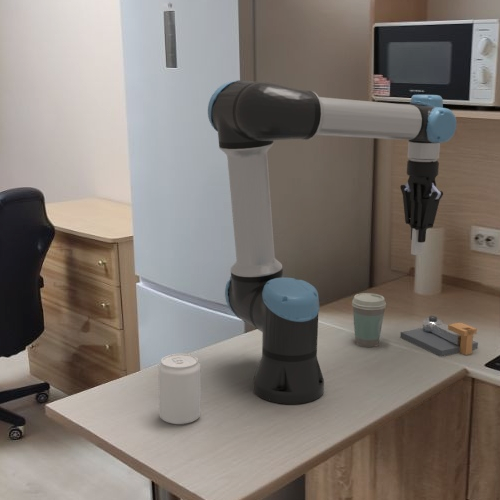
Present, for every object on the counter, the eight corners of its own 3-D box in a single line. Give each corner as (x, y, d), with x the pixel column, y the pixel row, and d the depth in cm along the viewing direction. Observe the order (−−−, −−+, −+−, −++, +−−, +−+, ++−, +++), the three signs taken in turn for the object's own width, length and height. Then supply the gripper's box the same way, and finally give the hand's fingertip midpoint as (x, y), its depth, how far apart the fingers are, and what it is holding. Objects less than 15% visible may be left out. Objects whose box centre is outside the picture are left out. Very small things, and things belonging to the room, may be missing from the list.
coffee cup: (383, 350, 189) (386, 303, 186) (348, 347, 190) (350, 301, 187) (384, 338, 197) (387, 293, 194) (351, 335, 198) (353, 291, 196)
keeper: (462, 355, 186) (464, 331, 184) (446, 348, 190) (448, 324, 189) (474, 353, 187) (476, 328, 186) (458, 345, 192) (460, 322, 191)
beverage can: (166, 429, 146) (165, 370, 143) (154, 412, 153) (153, 355, 151) (206, 422, 149) (206, 364, 147) (192, 405, 157) (192, 350, 154)
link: (418, 327, 199) (419, 315, 199) (433, 325, 201) (434, 313, 201) (454, 345, 187) (455, 332, 186) (469, 342, 189) (470, 329, 188)
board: (441, 356, 185) (441, 350, 184) (400, 337, 197) (400, 332, 197) (477, 348, 191) (477, 342, 190) (435, 330, 203) (435, 324, 203)
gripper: (454, 161, 182) (446, 258, 188) (416, 156, 193) (411, 247, 199) (430, 163, 179) (423, 261, 184) (393, 157, 190) (388, 250, 195)
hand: (417, 253), depth 191 cm, fingers closed
